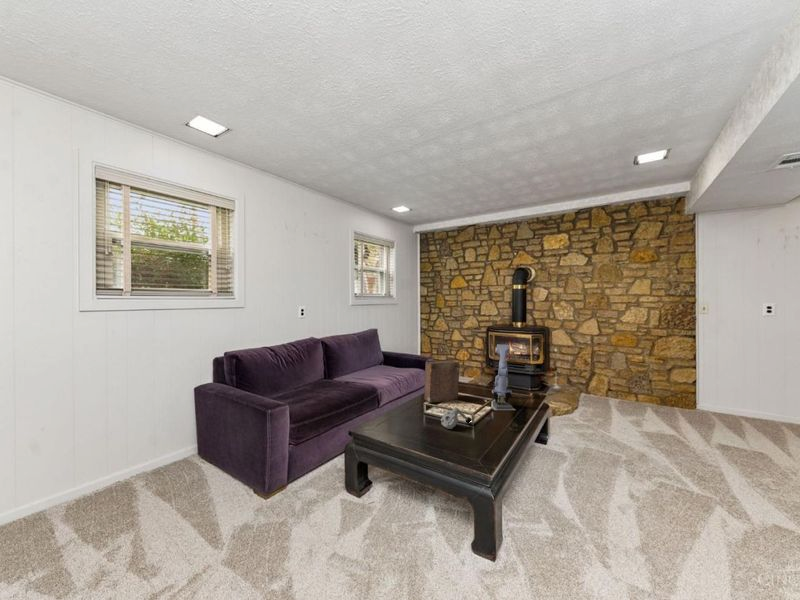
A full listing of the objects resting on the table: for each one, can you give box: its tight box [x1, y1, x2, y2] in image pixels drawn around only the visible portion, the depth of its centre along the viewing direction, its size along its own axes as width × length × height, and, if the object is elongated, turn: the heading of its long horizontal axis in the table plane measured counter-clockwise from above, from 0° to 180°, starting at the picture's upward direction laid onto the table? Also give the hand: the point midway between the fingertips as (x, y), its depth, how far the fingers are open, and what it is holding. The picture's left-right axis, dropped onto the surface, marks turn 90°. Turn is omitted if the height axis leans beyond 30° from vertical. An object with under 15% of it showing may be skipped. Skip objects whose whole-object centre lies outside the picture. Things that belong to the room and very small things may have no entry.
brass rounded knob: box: [498, 395, 505, 405], centre depth 249 cm, size 4×4×8 cm
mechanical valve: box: [440, 406, 472, 430], centre depth 213 cm, size 10×18×15 cm
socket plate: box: [483, 399, 516, 411], centre depth 253 cm, size 22×16×3 cm
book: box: [423, 359, 460, 404], centre depth 261 cm, size 25×9×30 cm, turn 115°
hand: (501, 402), depth 249 cm, fingers open, 7 cm apart
